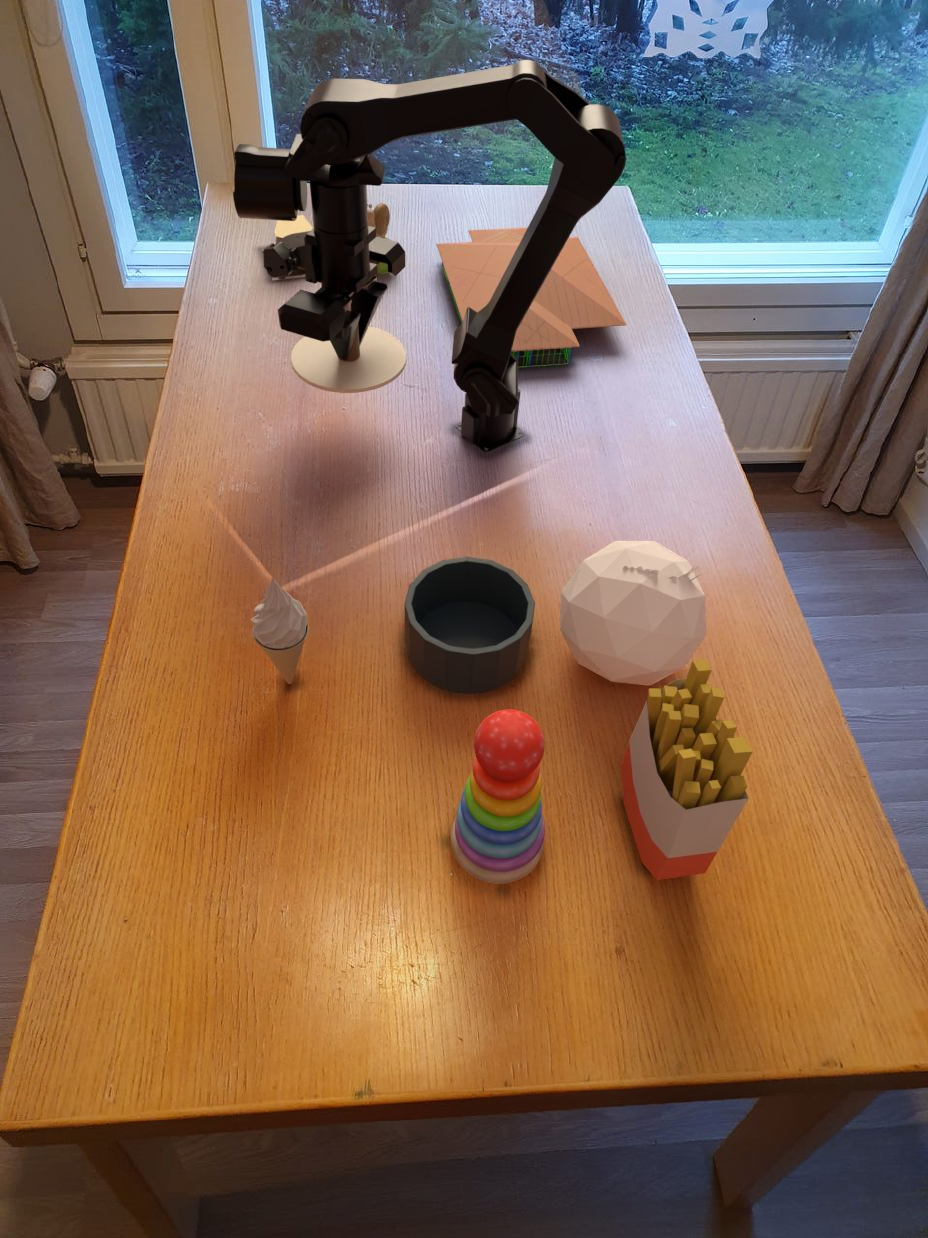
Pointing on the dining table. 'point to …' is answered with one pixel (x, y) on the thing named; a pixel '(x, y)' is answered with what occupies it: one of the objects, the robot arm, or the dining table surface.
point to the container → (468, 624)
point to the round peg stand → (350, 362)
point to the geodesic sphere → (633, 612)
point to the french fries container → (683, 776)
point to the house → (557, 307)
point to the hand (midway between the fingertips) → (349, 352)
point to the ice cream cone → (281, 629)
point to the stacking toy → (502, 801)
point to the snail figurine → (380, 227)
